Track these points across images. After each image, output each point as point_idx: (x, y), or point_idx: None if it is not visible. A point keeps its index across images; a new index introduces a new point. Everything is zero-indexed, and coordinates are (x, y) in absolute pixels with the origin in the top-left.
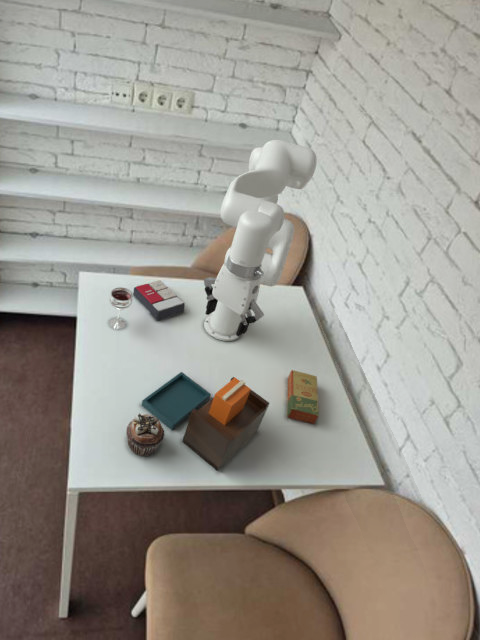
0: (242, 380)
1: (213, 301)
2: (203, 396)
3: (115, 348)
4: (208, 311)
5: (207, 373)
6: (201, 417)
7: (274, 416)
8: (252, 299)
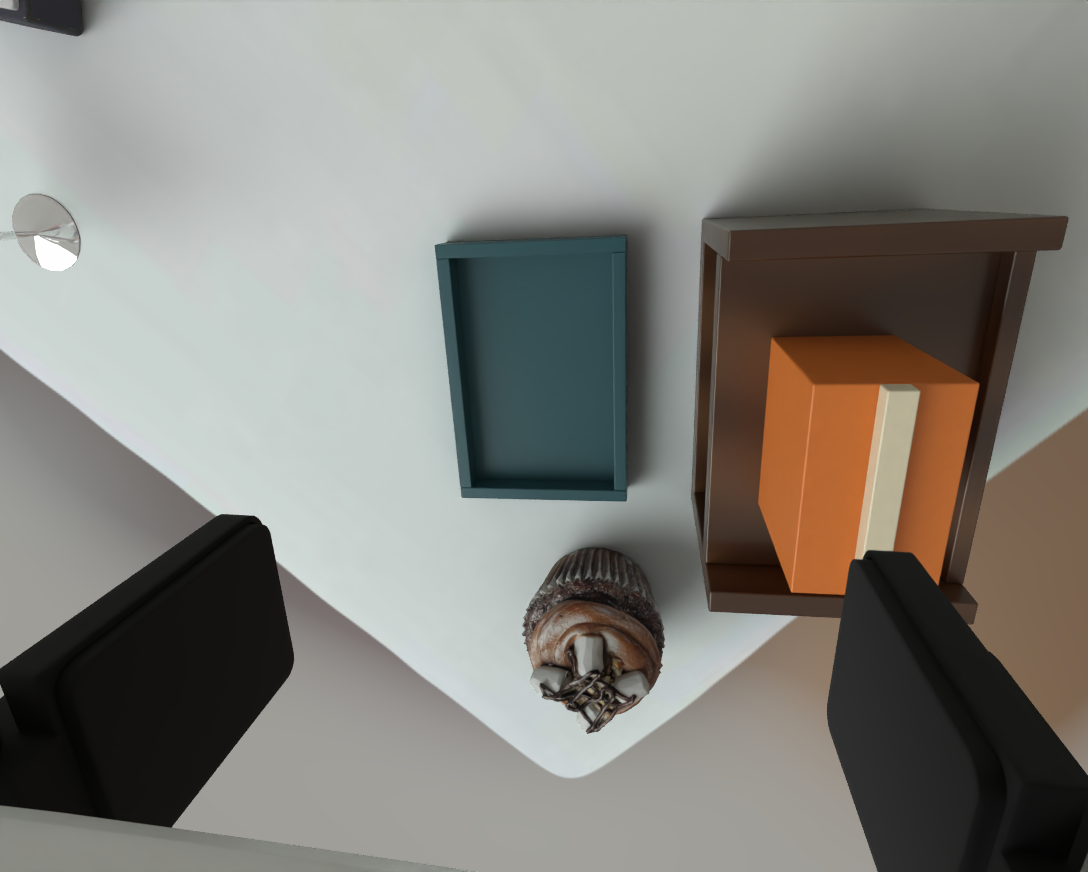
0: (893, 394)
1: (101, 801)
2: (601, 256)
3: (177, 351)
4: (253, 714)
5: (508, 101)
6: (771, 609)
7: (963, 20)
8: None
